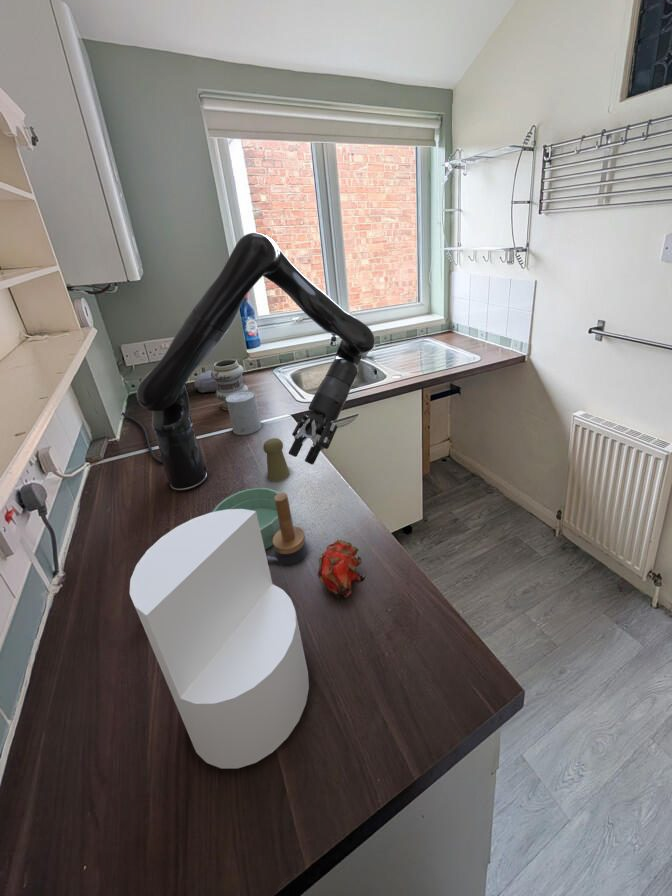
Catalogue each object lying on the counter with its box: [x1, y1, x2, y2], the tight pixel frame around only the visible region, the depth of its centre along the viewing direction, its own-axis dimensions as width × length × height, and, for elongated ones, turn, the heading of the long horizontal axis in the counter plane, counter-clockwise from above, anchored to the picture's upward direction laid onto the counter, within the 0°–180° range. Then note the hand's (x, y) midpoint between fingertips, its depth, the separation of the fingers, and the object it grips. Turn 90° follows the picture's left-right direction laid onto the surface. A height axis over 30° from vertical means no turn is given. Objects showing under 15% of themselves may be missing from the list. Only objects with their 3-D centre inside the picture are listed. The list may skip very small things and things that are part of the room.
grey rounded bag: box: [193, 369, 243, 393], centre depth 176 cm, size 15×8×20 cm
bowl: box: [211, 487, 280, 551], centre depth 92 cm, size 16×16×6 cm
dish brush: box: [272, 492, 308, 567], centre depth 83 cm, size 7×7×15 cm
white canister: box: [226, 390, 262, 436], centre depth 138 cm, size 10×10×12 cm
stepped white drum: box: [129, 509, 310, 769], centre depth 55 cm, size 17×17×28 cm
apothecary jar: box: [211, 358, 249, 411], centre depth 156 cm, size 12×12×18 cm
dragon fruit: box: [317, 539, 367, 598], centre depth 77 cm, size 8×8×12 cm
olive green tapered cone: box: [262, 437, 290, 482], centre depth 111 cm, size 6×6×11 cm
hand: (300, 459), depth 95 cm, fingers open, 8 cm apart
